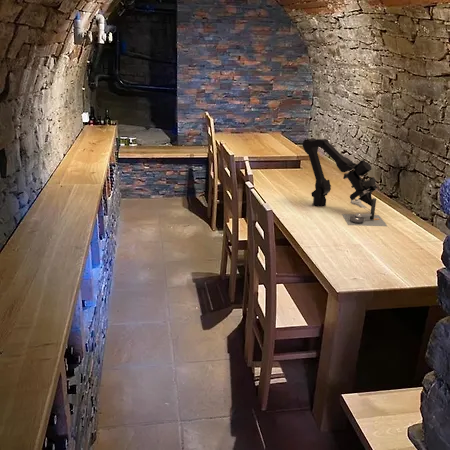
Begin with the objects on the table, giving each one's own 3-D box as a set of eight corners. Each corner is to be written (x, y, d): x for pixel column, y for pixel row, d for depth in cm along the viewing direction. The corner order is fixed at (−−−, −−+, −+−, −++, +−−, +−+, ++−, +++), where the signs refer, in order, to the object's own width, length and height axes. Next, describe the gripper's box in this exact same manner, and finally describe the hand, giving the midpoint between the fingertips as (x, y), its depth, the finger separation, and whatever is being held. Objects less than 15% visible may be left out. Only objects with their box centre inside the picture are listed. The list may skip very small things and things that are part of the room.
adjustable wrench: (375, 216, 268) (375, 213, 267) (363, 216, 267) (364, 213, 267) (359, 201, 291) (359, 198, 291) (348, 201, 291) (348, 198, 290)
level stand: (347, 226, 250) (348, 224, 249) (341, 215, 265) (341, 213, 265) (387, 228, 249) (387, 225, 249) (378, 216, 265) (378, 214, 265)
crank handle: (347, 220, 254) (349, 199, 250) (360, 215, 263) (363, 195, 259) (361, 225, 249) (363, 203, 245) (374, 219, 257) (377, 198, 253)
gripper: (357, 175, 247) (374, 201, 244) (376, 169, 260) (393, 194, 256) (342, 187, 255) (358, 212, 252) (361, 181, 268) (377, 205, 264)
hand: (372, 205), depth 256 cm, fingers closed
